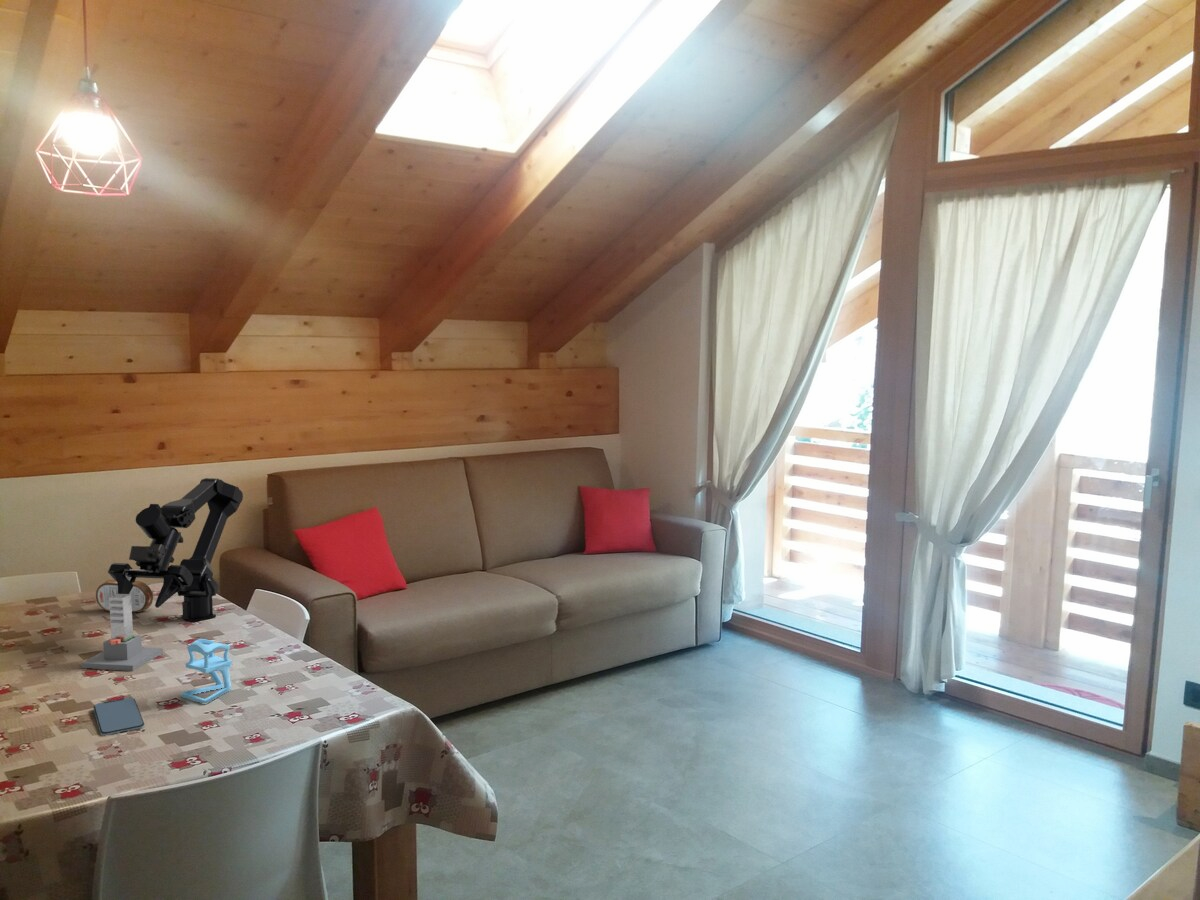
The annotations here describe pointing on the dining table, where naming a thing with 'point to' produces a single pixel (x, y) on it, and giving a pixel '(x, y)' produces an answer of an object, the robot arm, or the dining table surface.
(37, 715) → the dining table surface
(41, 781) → the dining table surface
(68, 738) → the dining table surface
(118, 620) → the column
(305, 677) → the dining table surface
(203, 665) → the light blue holder stand
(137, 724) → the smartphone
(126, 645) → the base
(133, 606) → the tin
